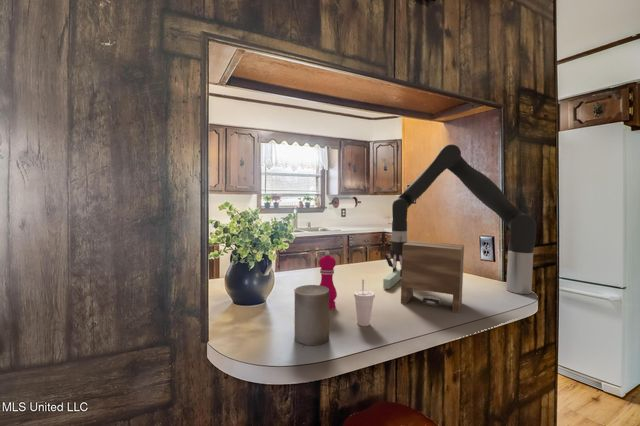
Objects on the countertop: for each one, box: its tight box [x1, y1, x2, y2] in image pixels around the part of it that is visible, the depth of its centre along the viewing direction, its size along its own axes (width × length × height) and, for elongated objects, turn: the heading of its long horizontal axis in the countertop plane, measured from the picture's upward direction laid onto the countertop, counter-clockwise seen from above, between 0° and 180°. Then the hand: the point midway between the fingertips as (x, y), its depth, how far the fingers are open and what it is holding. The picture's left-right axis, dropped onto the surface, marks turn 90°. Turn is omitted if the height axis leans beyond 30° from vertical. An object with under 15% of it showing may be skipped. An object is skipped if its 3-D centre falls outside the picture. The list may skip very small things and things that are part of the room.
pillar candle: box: [293, 284, 330, 346], centre depth 90 cm, size 10×10×15 cm
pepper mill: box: [318, 250, 338, 310], centre depth 116 cm, size 7×7×20 cm
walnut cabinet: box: [400, 240, 465, 313], centre depth 122 cm, size 12×20×22 cm, turn 62°
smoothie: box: [353, 278, 376, 327], centre depth 101 cm, size 6×6×14 cm
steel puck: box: [422, 295, 441, 307], centre depth 123 cm, size 6×6×2 cm
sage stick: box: [382, 268, 402, 290], centre depth 149 cm, size 23×2×4 cm, turn 152°
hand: (398, 276), depth 157 cm, fingers closed on sage stick, 2 cm apart
